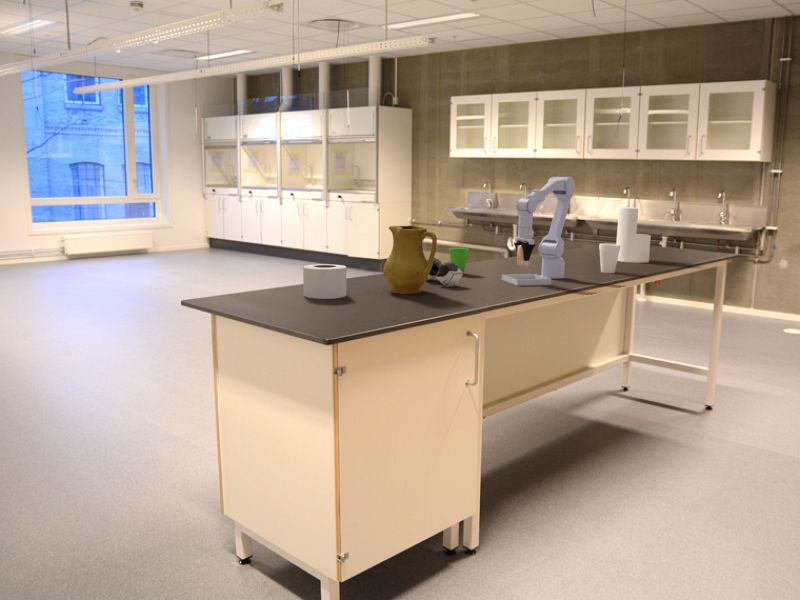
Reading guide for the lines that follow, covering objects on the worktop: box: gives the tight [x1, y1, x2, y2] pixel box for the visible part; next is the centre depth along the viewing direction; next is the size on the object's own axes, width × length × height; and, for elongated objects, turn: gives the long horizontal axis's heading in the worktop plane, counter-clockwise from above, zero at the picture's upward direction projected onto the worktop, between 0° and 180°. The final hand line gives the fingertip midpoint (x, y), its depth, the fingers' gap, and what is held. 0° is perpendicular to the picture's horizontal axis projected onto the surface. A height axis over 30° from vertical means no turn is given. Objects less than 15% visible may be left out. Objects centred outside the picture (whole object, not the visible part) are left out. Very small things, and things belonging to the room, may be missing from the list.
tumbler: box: [516, 245, 531, 267], centre depth 309 cm, size 5×5×8 cm
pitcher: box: [383, 224, 438, 295], centre depth 275 cm, size 17×19×25 cm
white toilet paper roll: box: [302, 263, 347, 300], centre depth 265 cm, size 16×15×11 cm
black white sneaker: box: [426, 257, 464, 288], centre depth 299 cm, size 25×10×10 cm, turn 26°
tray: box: [501, 273, 552, 287], centre depth 307 cm, size 15×15×2 cm
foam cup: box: [598, 242, 620, 274], centre depth 344 cm, size 10×9×13 cm
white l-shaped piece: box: [615, 206, 652, 264], centre depth 391 cm, size 17×17×28 cm
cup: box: [448, 247, 470, 274], centre depth 329 cm, size 9×9×11 cm
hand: (523, 259), depth 309 cm, fingers closed on tumbler, 5 cm apart
